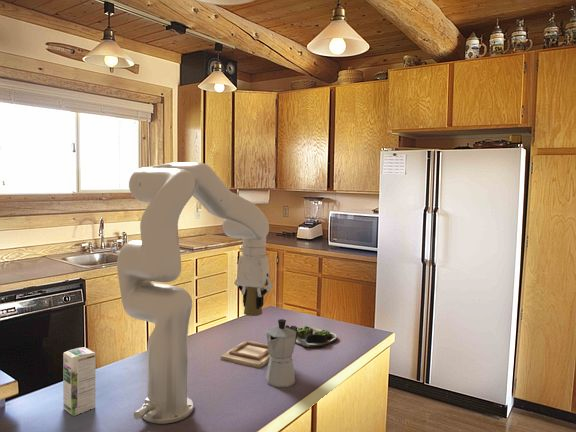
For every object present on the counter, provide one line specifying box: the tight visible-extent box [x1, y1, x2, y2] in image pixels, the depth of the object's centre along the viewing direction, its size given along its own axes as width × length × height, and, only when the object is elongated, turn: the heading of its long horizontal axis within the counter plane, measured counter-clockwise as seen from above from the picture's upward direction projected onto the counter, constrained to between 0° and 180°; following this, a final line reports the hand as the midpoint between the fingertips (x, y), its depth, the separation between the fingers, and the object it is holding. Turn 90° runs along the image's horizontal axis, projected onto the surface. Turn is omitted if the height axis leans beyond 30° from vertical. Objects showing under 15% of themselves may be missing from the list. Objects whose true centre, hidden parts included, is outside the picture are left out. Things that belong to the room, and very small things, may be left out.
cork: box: [243, 287, 263, 317], centre depth 147 cm, size 6×6×11 cm
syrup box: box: [62, 347, 96, 417], centre depth 112 cm, size 6×6×14 cm
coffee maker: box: [265, 319, 298, 389], centre depth 131 cm, size 15×9×18 cm, turn 149°
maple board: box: [220, 339, 271, 369], centre depth 149 cm, size 16×14×2 cm
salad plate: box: [295, 325, 338, 349], centre depth 166 cm, size 19×18×5 cm
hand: (253, 306), depth 147 cm, fingers closed on cork, 4 cm apart
